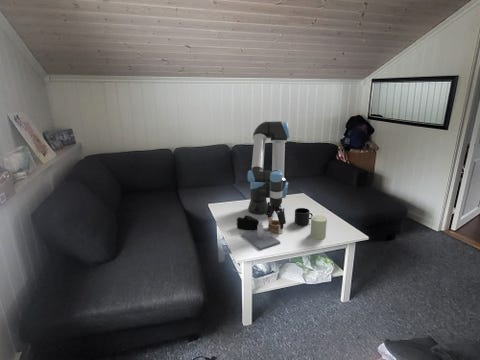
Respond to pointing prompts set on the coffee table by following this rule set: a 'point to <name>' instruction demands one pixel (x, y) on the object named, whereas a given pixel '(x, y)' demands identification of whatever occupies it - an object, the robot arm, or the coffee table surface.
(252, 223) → the film camera
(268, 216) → the robot arm
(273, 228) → the collar
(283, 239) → the coffee table surface
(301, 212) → the mug
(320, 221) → the can
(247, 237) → the post board
